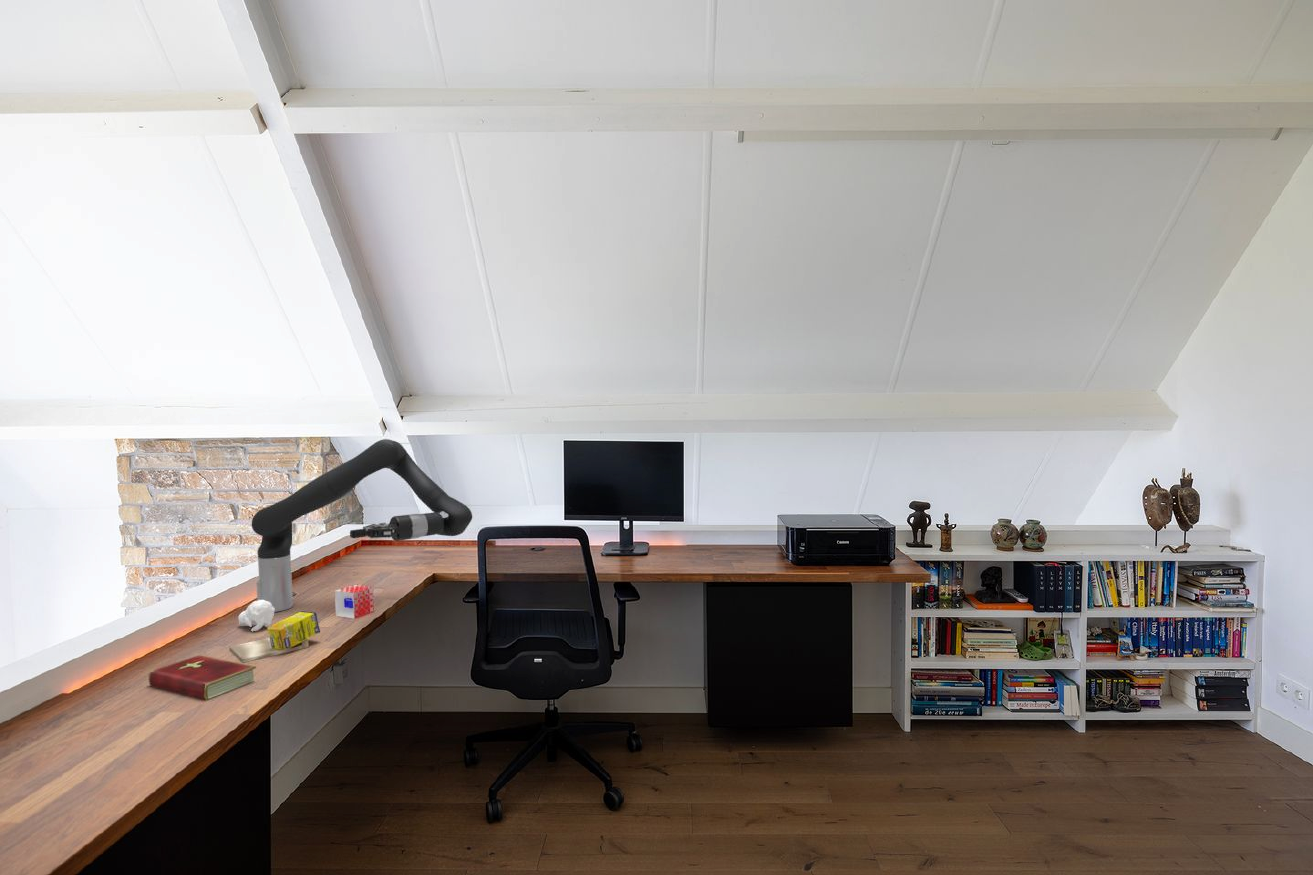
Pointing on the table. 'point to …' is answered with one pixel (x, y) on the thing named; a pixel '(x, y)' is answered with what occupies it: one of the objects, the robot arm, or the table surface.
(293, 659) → the table surface
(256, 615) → the white figurine
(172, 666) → the hardcover book
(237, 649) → the board
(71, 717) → the table surface
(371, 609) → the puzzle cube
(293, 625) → the supplement box
